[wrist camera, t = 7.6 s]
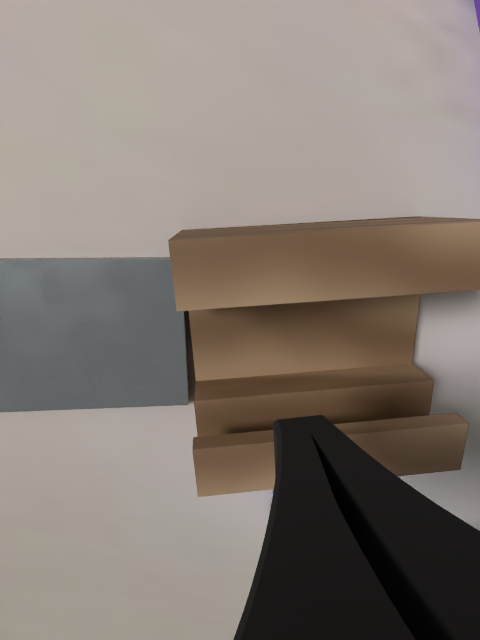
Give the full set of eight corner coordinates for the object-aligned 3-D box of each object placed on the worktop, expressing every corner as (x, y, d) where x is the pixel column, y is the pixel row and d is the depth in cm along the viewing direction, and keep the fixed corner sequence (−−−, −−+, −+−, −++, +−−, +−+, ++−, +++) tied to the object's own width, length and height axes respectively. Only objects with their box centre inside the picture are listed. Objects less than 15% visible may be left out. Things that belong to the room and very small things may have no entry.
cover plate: (190, 391, 20) (187, 409, 18) (-24, 399, 19) (-48, 419, 17) (183, 255, 18) (180, 261, 16) (-62, 257, 17) (-95, 263, 15)
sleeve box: (397, 403, 21) (460, 469, 16) (201, 421, 20) (197, 497, 15) (417, 216, 17) (507, 220, 12) (182, 230, 17) (168, 240, 11)
